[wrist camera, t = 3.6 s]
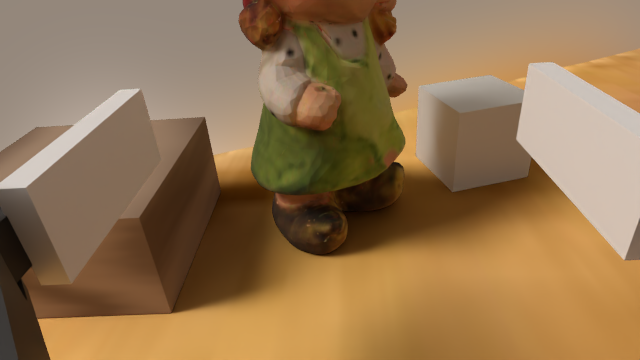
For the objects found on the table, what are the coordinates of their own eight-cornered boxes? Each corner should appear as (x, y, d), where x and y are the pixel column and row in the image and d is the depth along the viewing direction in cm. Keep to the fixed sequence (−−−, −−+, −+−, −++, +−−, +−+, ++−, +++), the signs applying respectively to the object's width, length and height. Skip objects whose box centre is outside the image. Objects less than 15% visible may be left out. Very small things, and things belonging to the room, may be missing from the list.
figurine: (359, 282, 23) (343, -199, 13) (233, 243, 27) (147, -155, 17) (420, 185, 32) (437, -159, 22) (316, 165, 35) (290, -135, 25)
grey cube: (481, 144, 37) (490, 74, 34) (527, 177, 32) (542, 98, 29) (415, 157, 36) (418, 85, 33) (452, 193, 31) (459, 113, 28)
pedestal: (220, 191, 33) (204, 117, 30) (171, 312, 22) (139, 217, 19) (67, 199, 33) (36, 127, 30) (-51, 321, 23) (-115, 230, 20)
